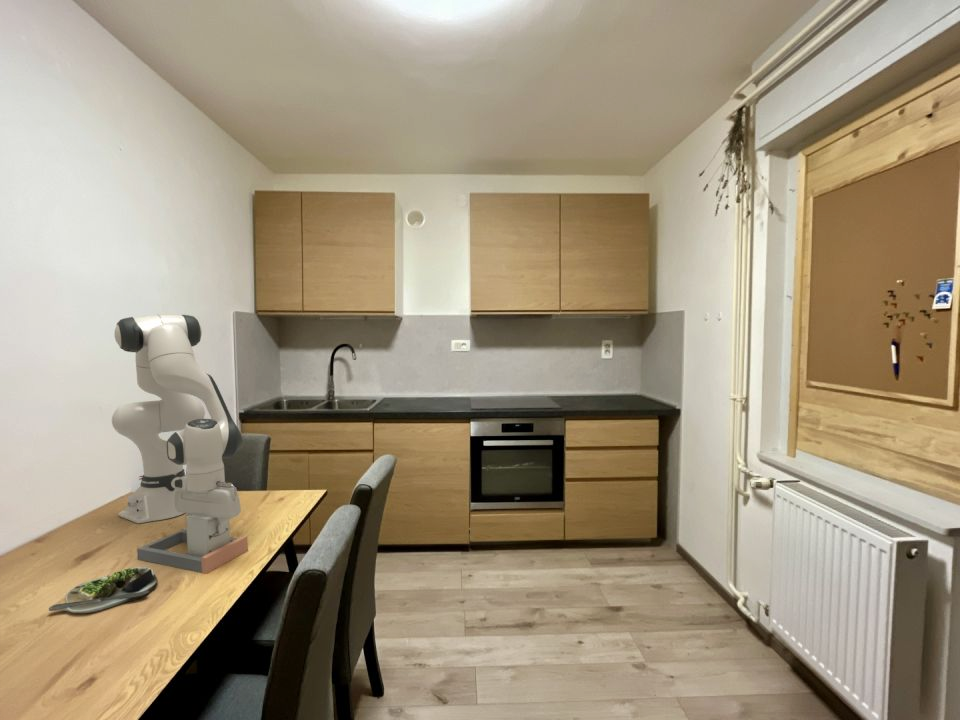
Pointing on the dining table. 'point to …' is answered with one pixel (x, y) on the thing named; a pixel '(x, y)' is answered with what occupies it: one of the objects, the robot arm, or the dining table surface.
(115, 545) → the dining table surface
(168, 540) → the bay
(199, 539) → the supplement box
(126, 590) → the salad plate
